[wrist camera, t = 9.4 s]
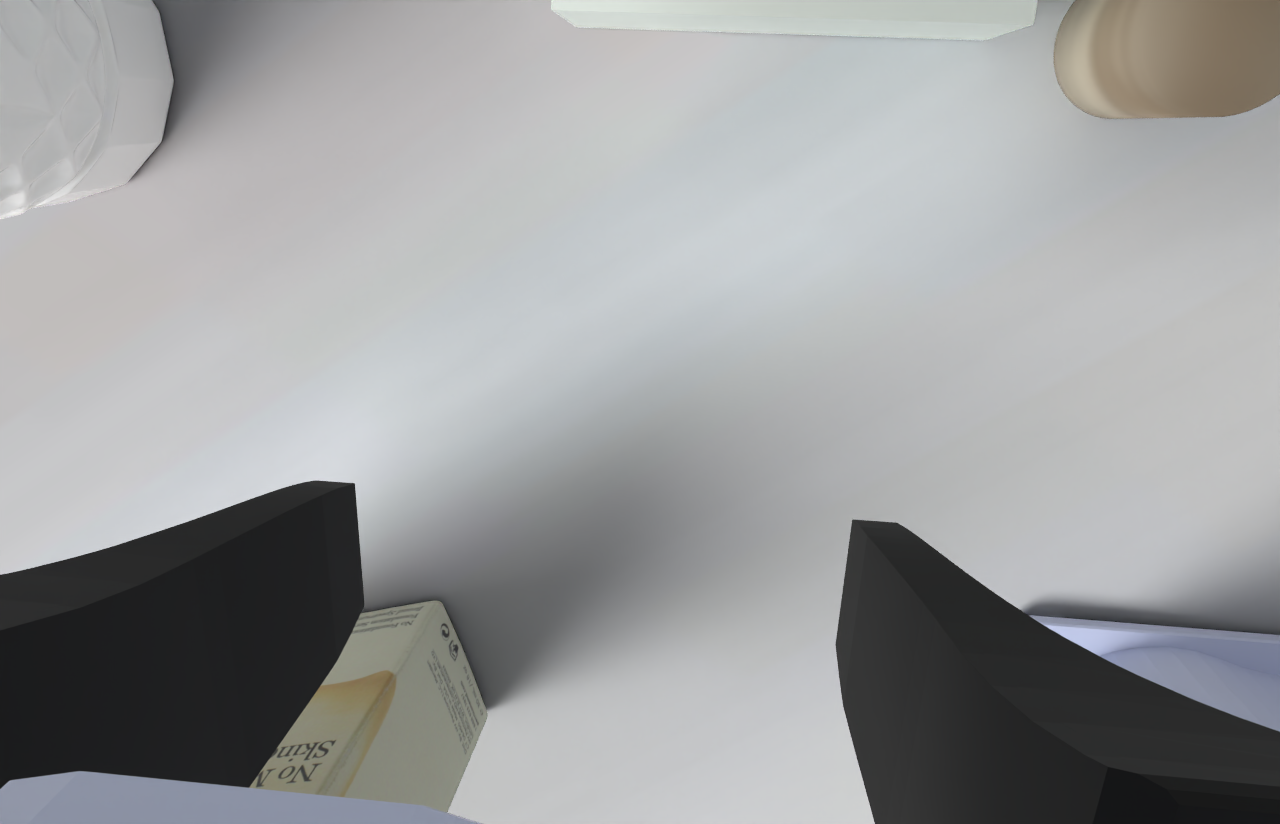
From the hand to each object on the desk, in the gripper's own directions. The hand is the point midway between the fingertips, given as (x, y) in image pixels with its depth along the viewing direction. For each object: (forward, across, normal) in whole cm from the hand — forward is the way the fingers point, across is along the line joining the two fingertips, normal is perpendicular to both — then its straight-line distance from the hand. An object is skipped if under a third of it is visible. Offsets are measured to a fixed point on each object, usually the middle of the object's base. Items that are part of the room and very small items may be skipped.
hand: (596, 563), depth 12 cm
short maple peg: (+10, -10, -8) cm, 16 cm away
